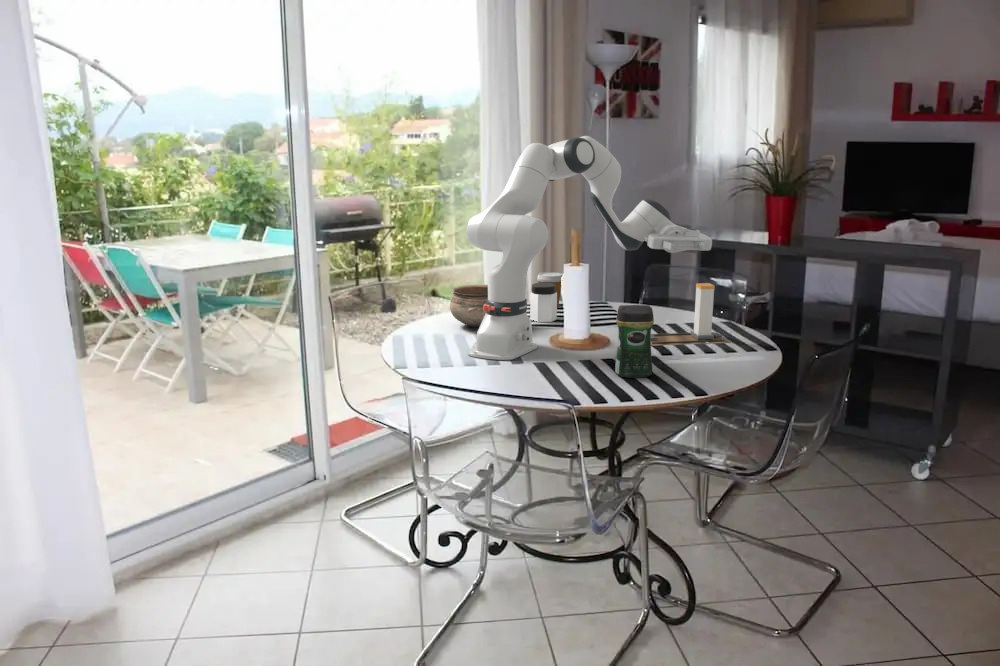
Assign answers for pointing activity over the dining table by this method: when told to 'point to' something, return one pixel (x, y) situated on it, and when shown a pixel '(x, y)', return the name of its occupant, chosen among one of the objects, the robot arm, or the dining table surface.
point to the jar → (543, 302)
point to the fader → (703, 311)
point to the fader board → (684, 339)
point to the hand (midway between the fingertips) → (687, 247)
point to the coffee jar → (634, 341)
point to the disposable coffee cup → (551, 281)
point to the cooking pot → (469, 304)
